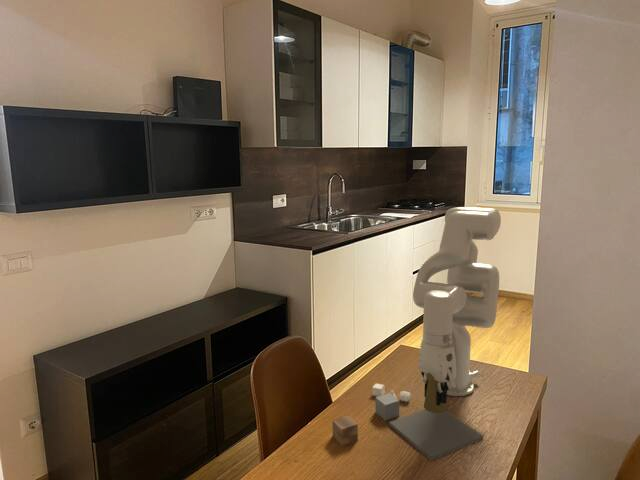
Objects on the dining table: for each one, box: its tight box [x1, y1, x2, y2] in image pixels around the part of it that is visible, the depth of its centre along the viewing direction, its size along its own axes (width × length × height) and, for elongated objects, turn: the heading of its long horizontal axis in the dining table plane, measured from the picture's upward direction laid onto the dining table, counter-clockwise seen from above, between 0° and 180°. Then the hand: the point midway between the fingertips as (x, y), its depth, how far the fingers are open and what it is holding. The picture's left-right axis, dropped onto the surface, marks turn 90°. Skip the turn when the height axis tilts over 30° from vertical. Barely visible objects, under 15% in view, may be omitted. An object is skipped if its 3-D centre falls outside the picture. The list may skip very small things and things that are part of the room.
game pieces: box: [371, 383, 412, 403], centre depth 153 cm, size 12×3×3 cm, turn 62°
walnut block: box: [332, 414, 359, 447], centre depth 132 cm, size 5×5×5 cm
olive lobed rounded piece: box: [423, 373, 447, 413], centre depth 132 cm, size 6×6×11 cm
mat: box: [388, 408, 484, 461], centre depth 135 cm, size 18×18×1 cm
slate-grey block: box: [374, 392, 400, 421], centre depth 144 cm, size 5×5×5 cm
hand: (435, 399), depth 132 cm, fingers closed on olive lobed rounded piece, 4 cm apart
